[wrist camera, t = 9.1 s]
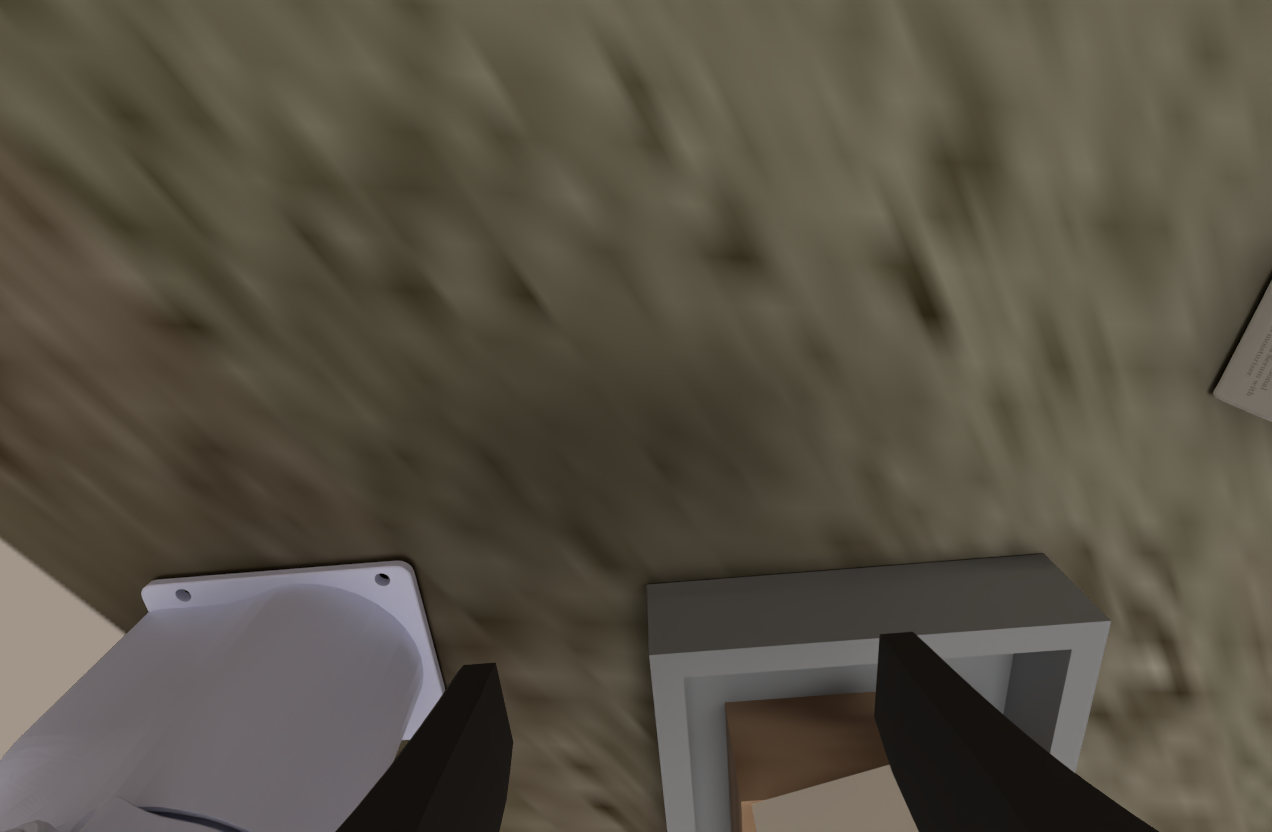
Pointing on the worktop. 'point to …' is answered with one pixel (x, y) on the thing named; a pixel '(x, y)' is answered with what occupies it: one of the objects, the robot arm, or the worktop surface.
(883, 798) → the cream lidded carton
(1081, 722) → the tote
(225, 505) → the worktop surface
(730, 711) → the walnut block
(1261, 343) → the skincare box
